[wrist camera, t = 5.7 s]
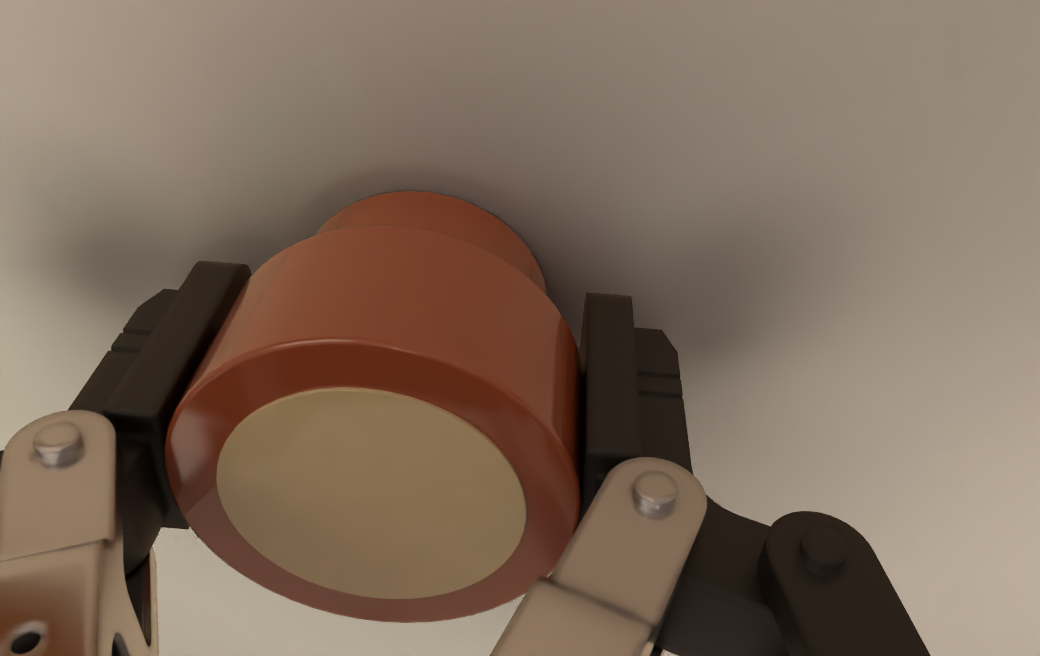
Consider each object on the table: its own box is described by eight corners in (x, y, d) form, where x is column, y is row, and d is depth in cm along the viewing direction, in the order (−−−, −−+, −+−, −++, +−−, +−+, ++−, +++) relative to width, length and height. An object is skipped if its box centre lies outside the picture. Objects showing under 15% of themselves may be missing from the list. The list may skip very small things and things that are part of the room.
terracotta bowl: (599, 168, 13) (604, 363, 10) (568, 425, 16) (563, 643, 13) (244, 140, 13) (115, 323, 10) (284, 403, 17) (199, 611, 13)
